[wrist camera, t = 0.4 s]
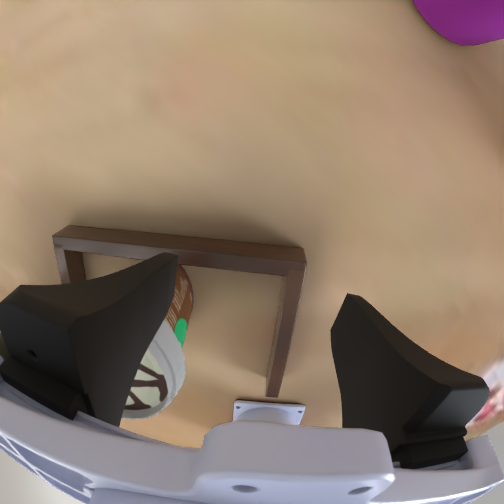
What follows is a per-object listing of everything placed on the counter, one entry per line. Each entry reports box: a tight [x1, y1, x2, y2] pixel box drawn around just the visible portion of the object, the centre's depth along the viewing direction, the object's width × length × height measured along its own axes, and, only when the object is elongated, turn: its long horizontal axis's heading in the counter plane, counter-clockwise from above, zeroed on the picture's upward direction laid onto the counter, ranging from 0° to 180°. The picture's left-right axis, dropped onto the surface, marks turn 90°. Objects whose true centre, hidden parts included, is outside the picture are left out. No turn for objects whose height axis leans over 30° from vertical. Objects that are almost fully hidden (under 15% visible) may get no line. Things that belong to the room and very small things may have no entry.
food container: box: [122, 264, 193, 419], centre depth 21 cm, size 12×6×10 cm, turn 125°
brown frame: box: [52, 226, 307, 398], centre depth 24 cm, size 15×20×2 cm
